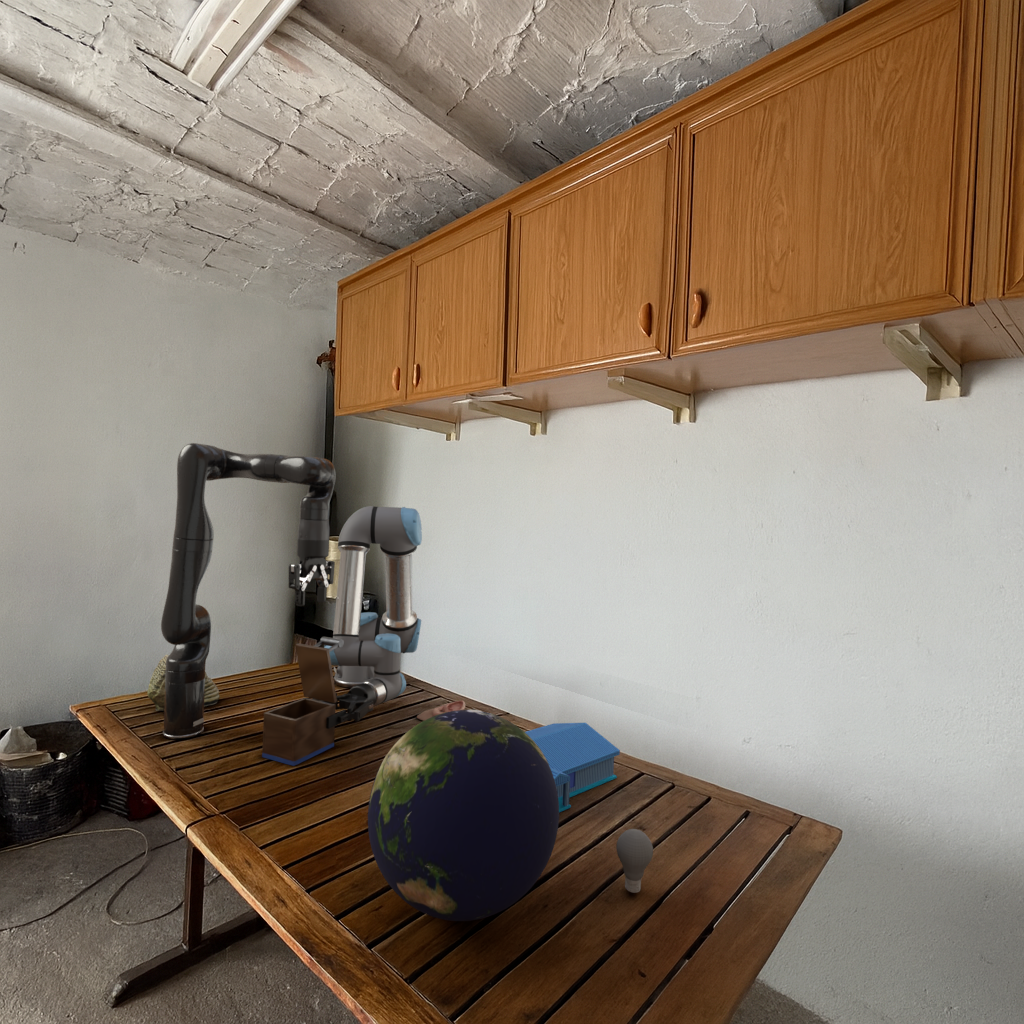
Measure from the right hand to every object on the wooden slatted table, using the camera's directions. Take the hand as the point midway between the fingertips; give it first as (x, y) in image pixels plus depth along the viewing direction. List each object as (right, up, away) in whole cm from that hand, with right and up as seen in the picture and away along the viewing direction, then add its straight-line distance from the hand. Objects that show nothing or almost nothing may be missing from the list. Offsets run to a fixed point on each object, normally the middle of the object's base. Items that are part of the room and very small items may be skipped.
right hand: (310, 719), depth 160 cm
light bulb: (+71, -11, -54) cm, 90 cm away
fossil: (-45, -5, +25) cm, 52 cm away
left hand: (+1, +29, -2) cm, 29 cm away
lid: (+1, +11, +1) cm, 11 cm away
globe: (+43, -10, -59) cm, 74 cm away
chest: (-2, -7, -3) cm, 8 cm away
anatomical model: (+30, -8, +25) cm, 40 cm away
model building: (+55, -10, -17) cm, 59 cm away
